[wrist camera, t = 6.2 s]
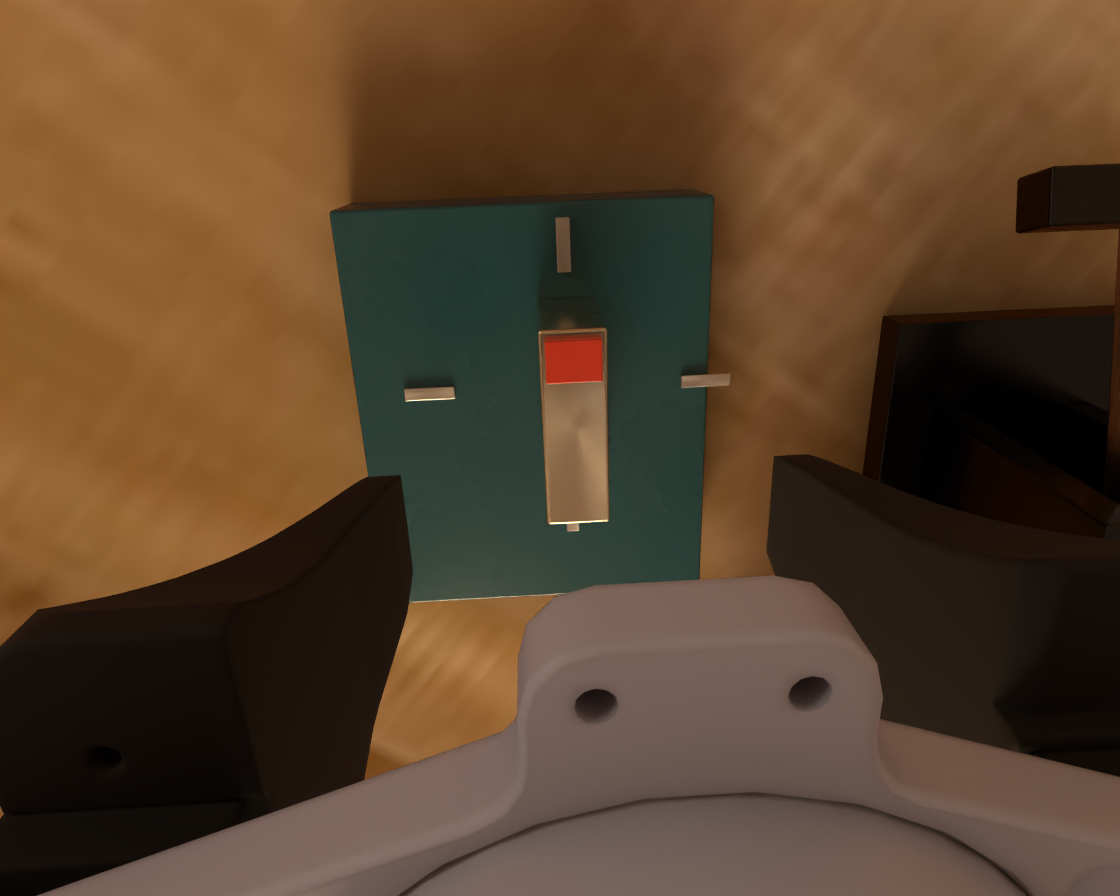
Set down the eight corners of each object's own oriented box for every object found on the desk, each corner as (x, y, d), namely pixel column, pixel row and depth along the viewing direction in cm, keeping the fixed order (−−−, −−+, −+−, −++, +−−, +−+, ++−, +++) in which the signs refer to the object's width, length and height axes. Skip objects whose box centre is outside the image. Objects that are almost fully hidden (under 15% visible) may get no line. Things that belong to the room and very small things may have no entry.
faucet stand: (882, 315, 24) (1069, 408, 15) (1132, 304, 24) (1449, 390, 16) (847, 588, 27) (983, 778, 19) (1063, 576, 28) (1288, 759, 19)
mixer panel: (701, 547, 26) (719, 590, 24) (398, 564, 26) (385, 608, 24) (716, 187, 22) (739, 194, 19) (349, 202, 22) (326, 211, 19)
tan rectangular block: (597, 465, 22) (611, 527, 19) (543, 468, 22) (547, 530, 19) (594, 296, 20) (608, 329, 17) (535, 299, 20) (537, 333, 17)
